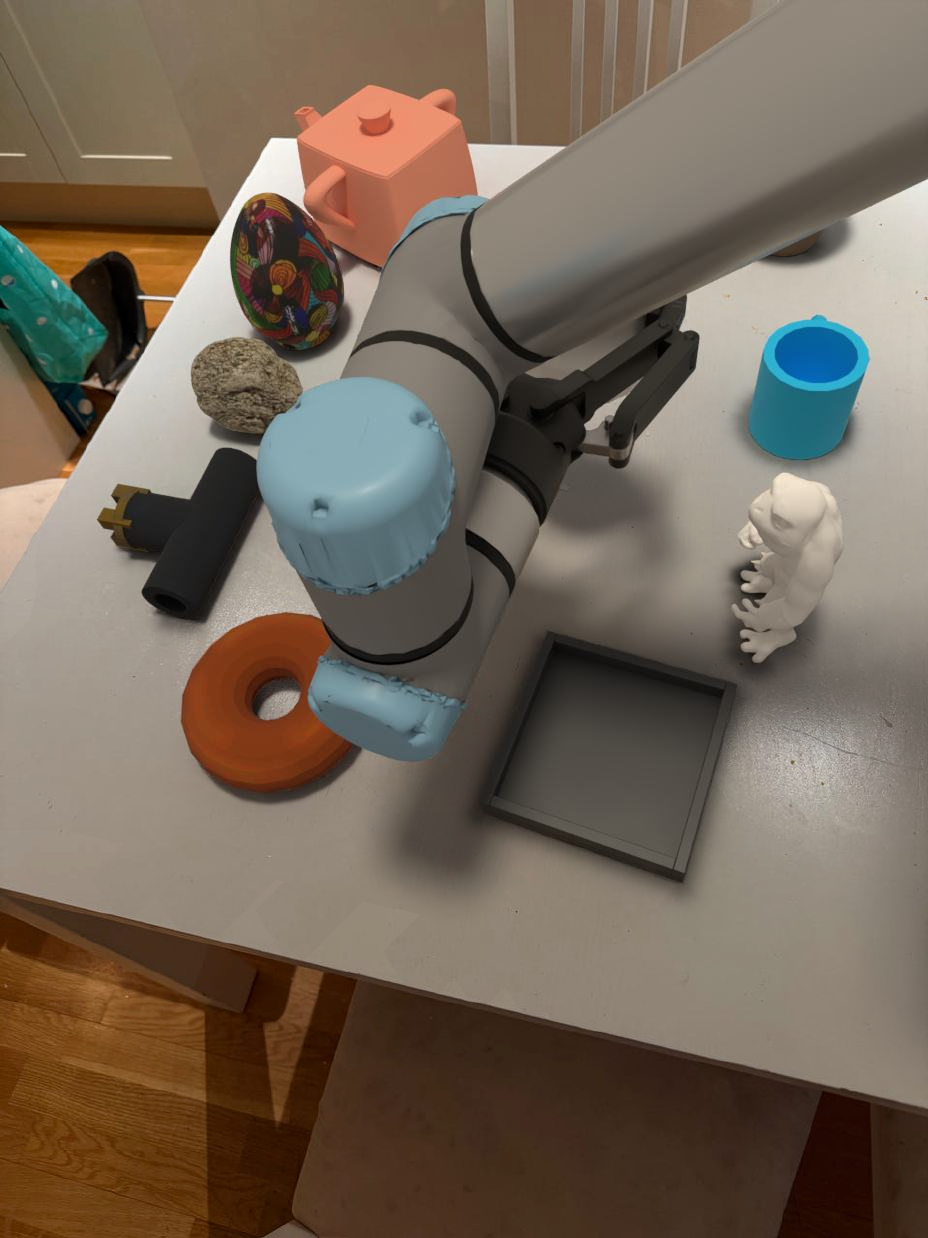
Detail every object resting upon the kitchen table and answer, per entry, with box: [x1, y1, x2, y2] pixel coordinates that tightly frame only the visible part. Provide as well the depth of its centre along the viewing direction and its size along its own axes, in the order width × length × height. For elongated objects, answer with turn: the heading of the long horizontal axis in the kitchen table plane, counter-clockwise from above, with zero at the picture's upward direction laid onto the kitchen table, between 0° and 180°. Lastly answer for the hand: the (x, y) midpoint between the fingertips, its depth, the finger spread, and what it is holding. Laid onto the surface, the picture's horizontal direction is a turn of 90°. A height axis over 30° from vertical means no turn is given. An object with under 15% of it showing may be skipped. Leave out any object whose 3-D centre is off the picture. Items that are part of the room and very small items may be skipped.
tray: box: [478, 629, 738, 883], centre depth 64 cm, size 15×15×2 cm
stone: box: [190, 336, 304, 435], centre depth 83 cm, size 6×10×10 cm, turn 75°
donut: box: [180, 611, 355, 794], centre depth 68 cm, size 15×15×5 cm
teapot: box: [293, 84, 479, 268], centre depth 95 cm, size 20×22×14 cm
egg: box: [229, 192, 345, 351], centre depth 87 cm, size 11×11×15 cm
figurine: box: [730, 472, 845, 664], centre depth 63 cm, size 11×7×15 cm, turn 170°
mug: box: [748, 314, 870, 461], centre depth 76 cm, size 12×8×8 cm
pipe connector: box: [96, 446, 260, 620], centre depth 78 cm, size 12×5×15 cm
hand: (603, 251), depth 60 cm, fingers closed on cup, 10 cm apart
